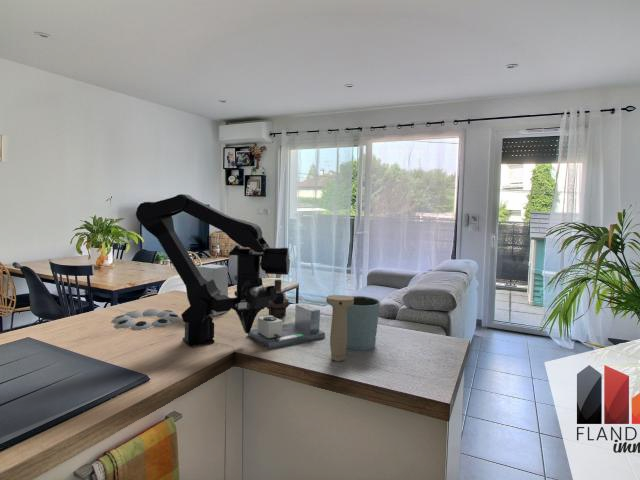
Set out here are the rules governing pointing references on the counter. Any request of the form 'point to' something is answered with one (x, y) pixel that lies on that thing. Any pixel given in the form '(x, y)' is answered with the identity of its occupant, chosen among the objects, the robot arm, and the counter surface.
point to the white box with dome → (270, 326)
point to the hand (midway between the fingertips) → (247, 332)
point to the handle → (339, 325)
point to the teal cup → (362, 323)
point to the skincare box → (216, 278)
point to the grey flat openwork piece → (127, 318)
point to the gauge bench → (294, 329)
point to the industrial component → (278, 309)
